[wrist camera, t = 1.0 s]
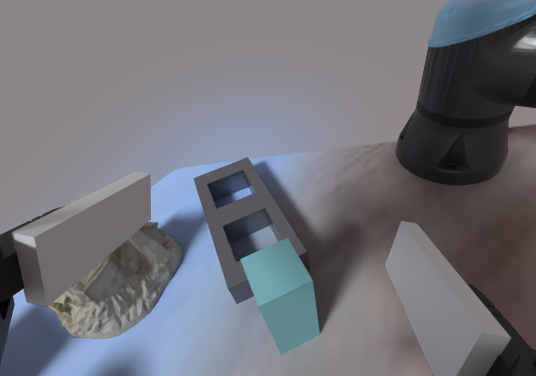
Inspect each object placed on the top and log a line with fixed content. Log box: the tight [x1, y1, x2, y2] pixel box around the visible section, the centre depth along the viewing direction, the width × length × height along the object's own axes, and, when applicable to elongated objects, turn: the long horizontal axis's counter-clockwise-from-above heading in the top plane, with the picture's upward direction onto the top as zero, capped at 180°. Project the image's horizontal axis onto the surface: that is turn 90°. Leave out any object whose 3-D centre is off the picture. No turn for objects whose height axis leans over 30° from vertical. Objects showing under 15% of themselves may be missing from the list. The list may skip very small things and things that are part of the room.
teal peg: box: [240, 238, 320, 355], centre depth 27 cm, size 5×5×12 cm
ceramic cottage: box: [49, 222, 183, 339], centre depth 35 cm, size 16×16×15 cm
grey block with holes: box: [194, 158, 309, 304], centre depth 41 cm, size 22×10×4 cm, turn 22°
